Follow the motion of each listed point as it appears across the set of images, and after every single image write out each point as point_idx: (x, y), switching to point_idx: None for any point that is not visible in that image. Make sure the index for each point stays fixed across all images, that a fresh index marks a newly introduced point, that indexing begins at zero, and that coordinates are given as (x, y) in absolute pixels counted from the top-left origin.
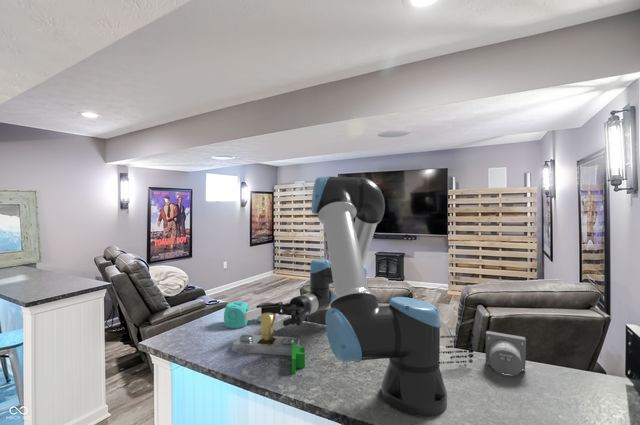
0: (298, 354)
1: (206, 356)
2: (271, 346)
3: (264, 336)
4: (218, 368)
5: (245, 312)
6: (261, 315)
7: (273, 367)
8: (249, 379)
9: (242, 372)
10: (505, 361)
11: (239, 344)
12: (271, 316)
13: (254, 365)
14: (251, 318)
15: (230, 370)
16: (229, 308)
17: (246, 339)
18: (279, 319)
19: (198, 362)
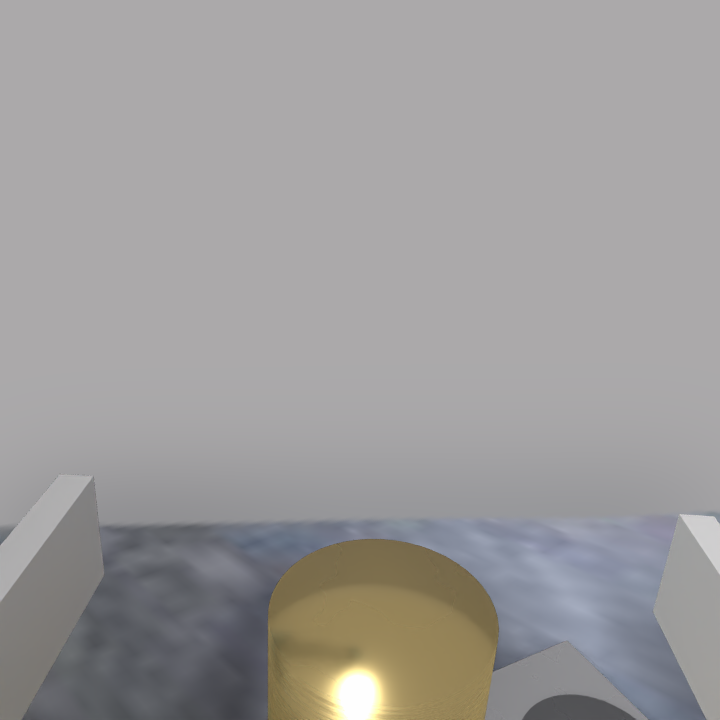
0: None
1: (603, 572)
2: None
3: None
4: (393, 529)
5: (702, 517)
6: (426, 548)
7: (49, 686)
8: (140, 533)
9: (231, 557)
10: None
11: (515, 664)
12: (271, 605)
13: (217, 639)
14: (693, 679)
15: (314, 542)
16: None
17: (526, 714)
18: (37, 536)
19: (549, 520)
